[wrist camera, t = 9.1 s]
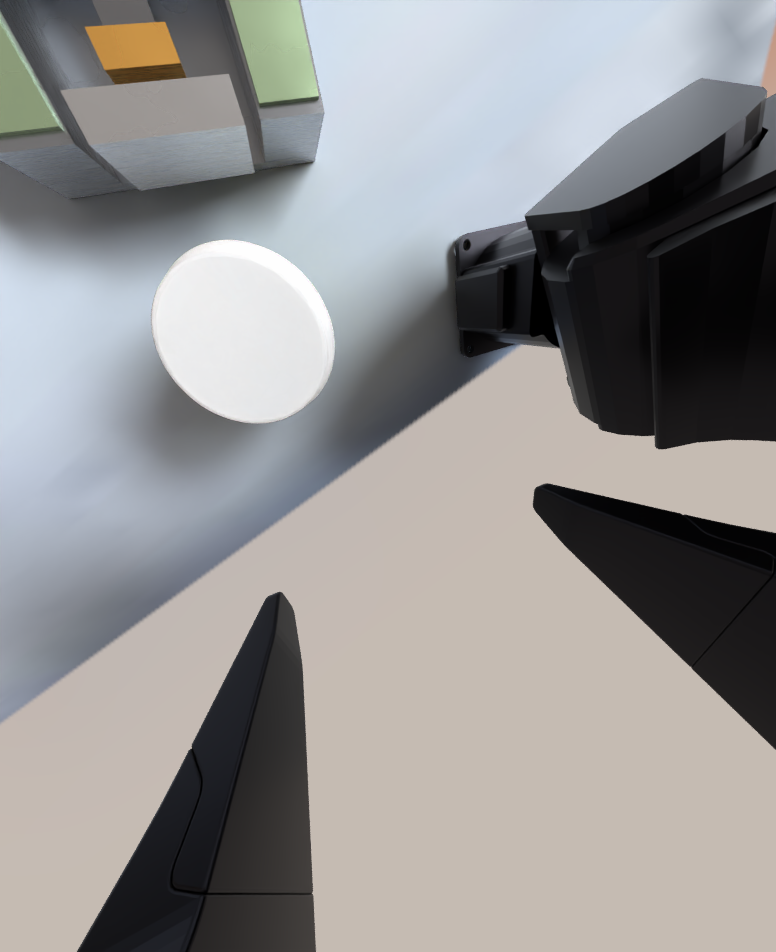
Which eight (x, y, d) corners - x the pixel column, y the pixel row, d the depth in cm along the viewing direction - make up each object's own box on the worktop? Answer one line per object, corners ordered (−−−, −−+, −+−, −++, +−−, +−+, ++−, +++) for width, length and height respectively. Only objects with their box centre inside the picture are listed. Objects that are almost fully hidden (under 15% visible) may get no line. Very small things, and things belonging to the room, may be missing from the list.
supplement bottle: (303, 397, 17) (319, 466, 9) (200, 364, 15) (99, 418, 7) (329, 303, 15) (379, 285, 7) (216, 247, 13) (102, 128, 5)
